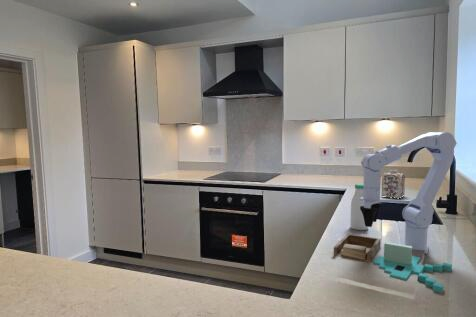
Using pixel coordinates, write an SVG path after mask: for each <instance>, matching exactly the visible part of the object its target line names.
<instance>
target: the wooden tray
mask: <svg viewBox="0 0 476 317" xmlns="http://www.w3.org/2000/svg"><path fill="white" fill-rule="evenodd" d="M381 241H382V239H381V238H378V237H377V238H376V237H370V236H366V235H360V234H352V233H347V234H346V235H345V236H343V237H342V238H341V239H340V240H338V242H337V243H336V244H335V245H334V246H333V257H337V258H342V259H343V258H344V259H348V260H353V261H359V262H362V263H363V262H364V263H369V264H370V263H371V262H372V261H373V259H374V258H375V256H376V255H377V253H378V251H379V250H380V249H381ZM345 244H350V245H357V246H363V247H366V251H367V252H368V253H367V258H366V259H360V258H355V257H349V256H344V255H341V250H342V249H343V246H344V245H345Z"/></svg>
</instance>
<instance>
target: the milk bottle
mask: <svg viewBox="0 0 476 317" xmlns="http://www.w3.org/2000/svg"><path fill="white" fill-rule="evenodd" d="M363 186H364V183H356V184H355V185H354V190H355V191H354V194H353V196H352V198H351V201H350V228H351V229H353V230H356V231H366V230H368V229H369V227H368V226H365V222H364V217H363V214H362V211H361V210H360V206H364V202H363V201H362V200H360V198H363Z"/></svg>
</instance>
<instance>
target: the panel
mask: <svg viewBox="0 0 476 317" xmlns="http://www.w3.org/2000/svg"><path fill="white" fill-rule="evenodd" d="M383 244H384V245H383V257H384V260H387V261H392V262H397V263H402V264H408V265H411V264H412V256H413V249H412V246H407V245H405V244H399V243H395V242H389V241H388V242H387V241H384V243H383Z"/></svg>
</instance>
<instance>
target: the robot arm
mask: <svg viewBox="0 0 476 317" xmlns="http://www.w3.org/2000/svg"><path fill="white" fill-rule="evenodd" d="M457 144H458V143H457V141H456V138H455V136H454V135H453V134H452V133H451V132H449V131H444V132H433V131H430V132H427V133H423V134H421V135H419V136H417V137H415V138H412V139H411V140H408V141H406V142H404V143H402V144H400V145H398V146H397V145H396V144H388V145H386V146H385V148H382V149H380V150H374V153H367V154H366V155H364V156H363V157H362V160H361V161H360V164H361V166H362V168H363V184H364V186H363V198H360V200H362V201H363V202H364V206H360V210H361V211H362V214H363V217H364V222H365V226H368V228H372V227H373V224H374V223H377V219H378V216H379V212H380V209H381V207H382V205H383V202H381V185H382V170H383V169H384V167H385V166H387V165H390V164H392V163H394V162H397V161H400V160H401V158H402V156H403V155H405V154H407V153H410V152H413V151H417V150H418V149H421V148H423V147H424V148H425V149H426V150H427V151H428V152H429V153H430V155H432V158H433V161H432V164H431V166H430V168H429V170H428V172H427V174H426V176H425V177H424V178H425V179H424V180H423V183H422V185H421V187H420V189H419V190H418V192H417V194H416V196H415V198H413V199H412V200H410V201H409V203H408V204H407V205H406V206H405V207H403V209H402V213H401V215H402V218H403V220H405V221H404V222H405V229H404V230H405V233H404V245H407V246H412V250H414V251H423V254H425V255H428V252H429V248H430V247H429V246H430V245H428V229H429V226H431V224H432V222H433V215H434V212H435V209H434V207H433V203H434V201H435V199H436V196H437V194H438V192H439V190H440V188H441V186H442V184H443V182H444V180H445V178H446V177H447V174H448V172H449V170H450V168H451V166H452V164H453V161H454V157H455V156H454V154H455V153H454V152H455V147H456V146H457Z"/></svg>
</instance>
